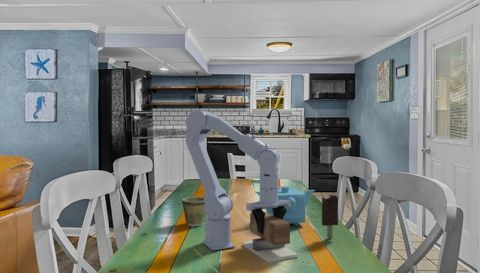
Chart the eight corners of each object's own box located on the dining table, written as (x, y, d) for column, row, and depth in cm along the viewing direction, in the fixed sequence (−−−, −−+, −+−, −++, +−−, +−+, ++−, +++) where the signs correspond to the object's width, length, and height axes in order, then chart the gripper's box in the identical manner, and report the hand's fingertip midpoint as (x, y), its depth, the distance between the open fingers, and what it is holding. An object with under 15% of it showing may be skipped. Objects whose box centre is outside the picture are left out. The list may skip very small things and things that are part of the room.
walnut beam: (250, 231, 121) (250, 213, 121) (263, 229, 123) (263, 211, 123) (275, 245, 106) (275, 224, 106) (289, 243, 108) (289, 222, 108)
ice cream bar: (323, 239, 126) (323, 195, 126) (321, 238, 128) (321, 194, 127) (338, 239, 126) (338, 195, 126) (336, 237, 128) (336, 194, 128)
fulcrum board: (242, 245, 120) (242, 233, 120) (269, 241, 124) (269, 229, 124) (268, 262, 105) (268, 248, 105) (297, 257, 109) (298, 243, 109)
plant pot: (201, 229, 139) (200, 202, 139) (177, 226, 142) (177, 200, 142) (215, 221, 151) (215, 196, 151) (193, 218, 155) (193, 195, 154)
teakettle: (295, 232, 135) (295, 192, 134) (252, 224, 146) (252, 187, 145) (316, 221, 150) (316, 185, 150) (275, 215, 161) (276, 181, 161)
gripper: (253, 191, 107) (253, 238, 108) (296, 188, 114) (295, 232, 114) (243, 188, 114) (243, 232, 114) (283, 184, 120) (283, 226, 120)
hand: (268, 231), depth 114 cm, fingers closed on walnut beam, 5 cm apart
